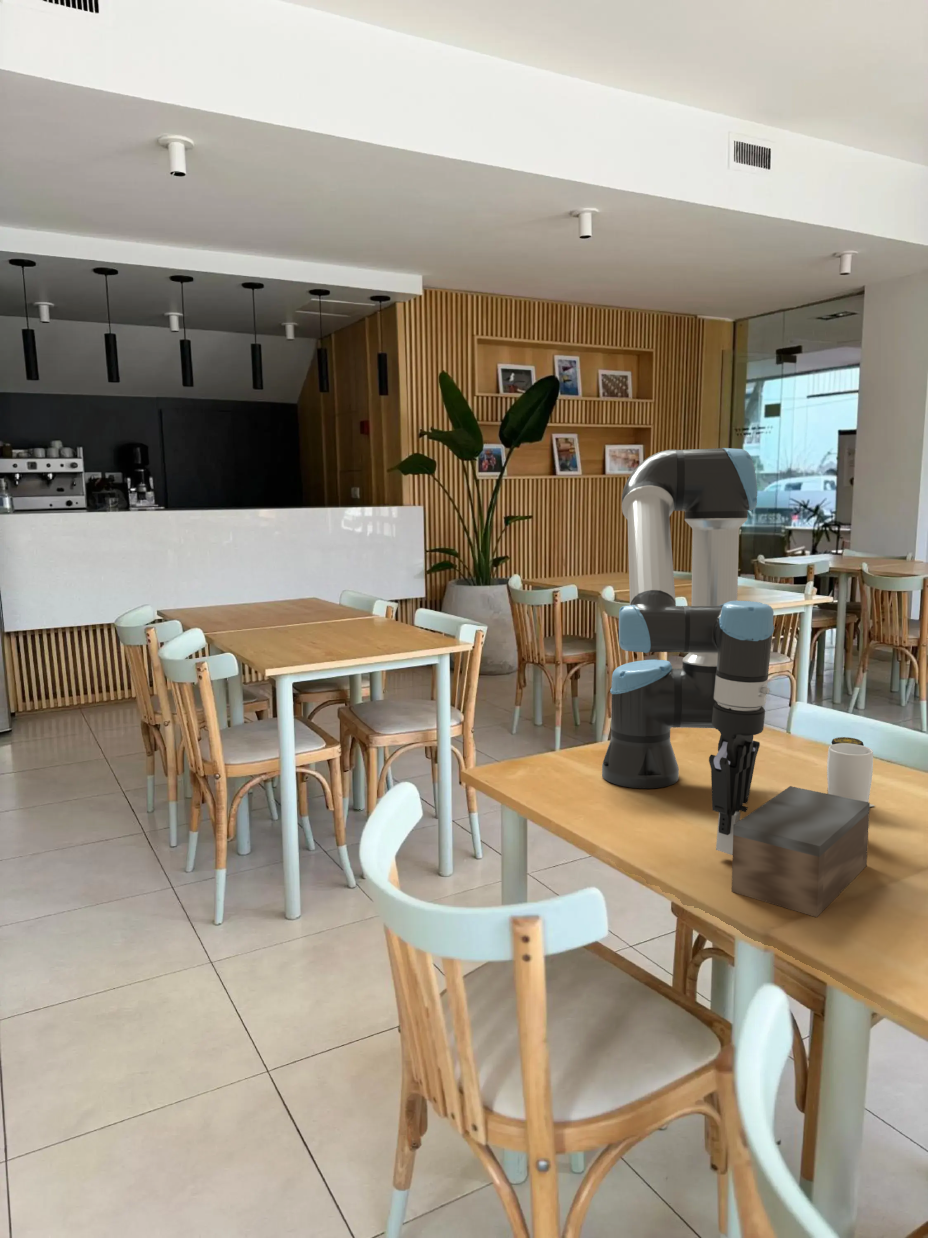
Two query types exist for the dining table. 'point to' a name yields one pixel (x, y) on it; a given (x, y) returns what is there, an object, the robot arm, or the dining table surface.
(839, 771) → the white tapered cylinder
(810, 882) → the gray-topped wooden box
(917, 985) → the dining table surface
